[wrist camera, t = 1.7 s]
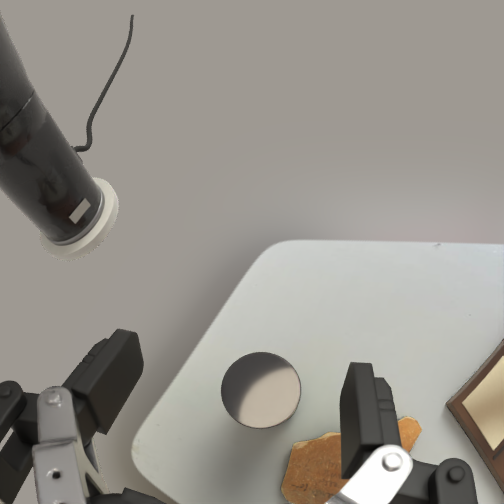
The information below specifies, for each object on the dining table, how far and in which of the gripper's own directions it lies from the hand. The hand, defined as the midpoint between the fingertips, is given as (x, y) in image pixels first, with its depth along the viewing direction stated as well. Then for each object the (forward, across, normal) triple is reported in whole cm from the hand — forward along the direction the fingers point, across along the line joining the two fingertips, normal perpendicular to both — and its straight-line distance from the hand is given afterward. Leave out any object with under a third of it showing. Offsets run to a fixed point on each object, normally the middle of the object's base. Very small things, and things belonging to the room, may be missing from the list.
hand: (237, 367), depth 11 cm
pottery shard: (+6, -8, +16) cm, 19 cm away
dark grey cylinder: (+10, -1, +13) cm, 16 cm away
